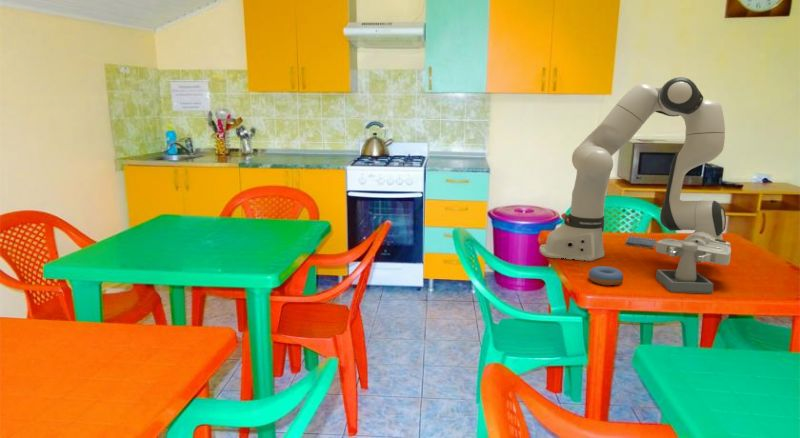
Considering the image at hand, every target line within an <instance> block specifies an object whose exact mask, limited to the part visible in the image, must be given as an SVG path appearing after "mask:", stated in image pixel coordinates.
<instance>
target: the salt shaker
mask: <svg viewBox="0 0 800 438" xmlns="http://www.w3.org/2000/svg"><path fill="white" fill-rule="evenodd" d="M681 248H682V250H683V252H682V255H681V257H679V258H680V259H679V261H678V265H677V268H676V269H675V270H676V273H675V278H676V281H677V282H695V281H696V278H697V277H696V271H697V262H695V252H696V251H697V249H698V245H697V244H696V243H693V242H683V243H682V247H681Z"/></svg>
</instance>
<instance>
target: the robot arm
mask: <svg viewBox="0 0 800 438" xmlns="http://www.w3.org/2000/svg"><path fill="white" fill-rule="evenodd" d="M655 113H657V114H660V115H665V116H668V117H678V116H680V117H681V118H683V120H684V125H685V139H684V143H683V146H682V148H681V149H680V150H679V151H678V152H676V153H675V154H674V156H673V159H672V162H671V166H670V170H669V175H668V179H667V185H666V188H665V189H666V190H665V196H664V199H663V202H662V206H661V209H660V214H659V221H660V224H661V225H662V226H663V227H664V228H666V229H667V230H668V231H671V232H674V231H694V232H692V233H690V234H689V235H688V236H686V237H685V238H684V239H683V240H680V239H674V238H664V239H660V240H658V241H656V245H655V251H656V253H658V254H662V255H668V256H669V257H671V258H676V257H678V258H681V255H682V252H683V250H682V248H681V247H682V243H683V242H693V243H696V244H697V245H698V249H697V251H696V252H695V262H696V263H702V264H703V263H710V264H716V265H721V266H728V265H729V264H730V263H731V262H730V261H731V254H732V247H731V242H728V241H727V240H723V233H724V231H725V229H726V226H727V225H726V224H727V217H726V211H725V209H724V207H723V205H721V204H720V203H719V202H718V201H716V200H681V194H682V188H683V185H684V179H685V176H686V174H687V173H688V172H689V171H691V170H692V169H695V168H697V167H699V166H701V165H705V164H707V163H709V162H712V161H713V160H715V159H716V158H717V157H718V156H719V155H721V154H722V152H723V151H724V147H725V139H726V135H725V134H726V133H725V132H726V131H725V129H726V127H725V117H724V116H725V115H724V111H723V107H722V105H721V103H720V102H718V101H716V100H714V99H704V96H703V94H702V92H701V91H700V90H699V88H698V87H697V85H696V83H695V82H694V81H692V79H690V78H687V77H682V76H680V77H674V78H671V79H670V80H668V81H666V83H664V84H663V86H662V87H654V86H653V85H651V84H649V83H645V82H644V83H643V82H640V83H637V84H636V85H634V86H633V87H631V89H629V91H627V92H626V93H625V94H624V95H623V96H622V97H621V99H619V100H618V102H617V103H616V104H615V105H614V107H613V108H612V109H611V110H610V111H609V113H608V114H607V116H605V117H604V119H603V120H602V121H601V123H600V124H599V125H598V126H597V127H596V128H595V129H594V130H593V131H592V132H590V134H589V135H588V136H587V137H585V139H584V140H583V141H582V142H581V143H580V144H579V145H578V146H577V147H575V149H574V150H573V152H572V155H571V156H572V157H571V162H572V165H573V167H574V169H575V170H576V177H575V180H574V186H573V189H572V193H571V204H570V213H569V214H567V213H565V212H562V214H561V219H563V220H564V221H563V224H561V225H560V226H559V227H557V228H556V229H554V230H552V231H550V232H549V234H548V235H547V238H546V241H545V244H543V243H542V244H541V245H540V246H539V252H540V254H542V256H544V257H547V258H551V259H552V258H553V259H561V258H564V259H563V260H572V259H575V261H576V260H577V261H584V260H585V262H593V261H595V260H597V259H601V258H603V257H605V250H604V244H603V243H604V242H603V232H604V229H605V216H604V213H605V212H604V211H605V202H606V194H607V188H608V186H609V182H610V177H611V174H612V170H613V168H614V160H613V155H615V154H616V153H617V152H618V151H619V150H620V149H622V148H623V147H624V146H625V145H627V144H628V143H629V142H631V140H632V138H633V137H634V136H635V135H636V134H637V133H638V131H639V130H640V129H641V128H642V126H643V125H644V124H645V123H646V121H647V120H648V119H649V118H650V117H651V116H652V115H653V114H655ZM565 258H566V259H565Z"/></svg>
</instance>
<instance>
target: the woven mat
mask: <svg viewBox="0 0 800 438" xmlns="http://www.w3.org/2000/svg"><path fill="white" fill-rule="evenodd" d="M628 245H629V247H635V248H636V247H638V248H645V249H652V250H654V249H655V248H656V245H657V240H656V239H655V238H647V237H646V238H645V237H640V236H639V237H638V236H636V235H634V236H633V235H632V236H631V235H630V236H628V237H627V239H626V241H625V243H624V246H628Z"/></svg>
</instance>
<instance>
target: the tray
mask: <svg viewBox="0 0 800 438" xmlns="http://www.w3.org/2000/svg"><path fill="white" fill-rule="evenodd" d="M676 270H677V269H656V275H655V279H656V280H657V282H659V283H660V284H661V285H662V286H663V285H664V286H665V287H666V288H665V289H666V290H667V291H669V292H670V293H679V292H681V293H683V294H685V293H686V294H687V293H688V294H708V293H709V294H711V295H712V294H713V290H714V283H713V282H711V281H710V280H709V279H708V278H706V277H705V276H703V274H701V273H700V272H698V271H697V270H696V277H697V278H696V281H695V282H677V281H676V278H675V273H676ZM664 286H663V287H664ZM679 294H680V293H679Z"/></svg>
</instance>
